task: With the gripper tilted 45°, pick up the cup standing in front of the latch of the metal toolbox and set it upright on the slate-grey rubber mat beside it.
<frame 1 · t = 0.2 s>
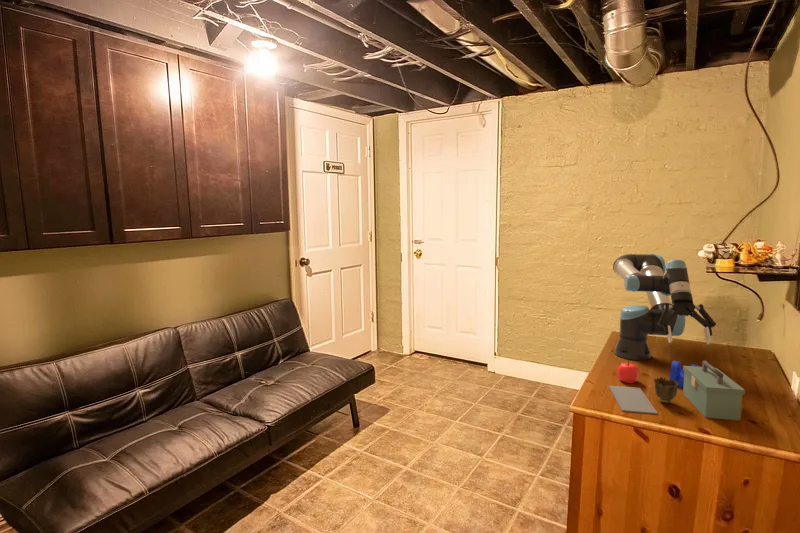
hand: (689, 342, 176), 15 cm above the table, tool tilted 35°, fingers open, 13 cm apart
bracket: (687, 381, 177), on the table
toolbox: (709, 405, 154), on the table
apple: (627, 381, 178), on the table
rubber mat: (631, 399, 161), on the table
cup: (664, 402, 158), on the table
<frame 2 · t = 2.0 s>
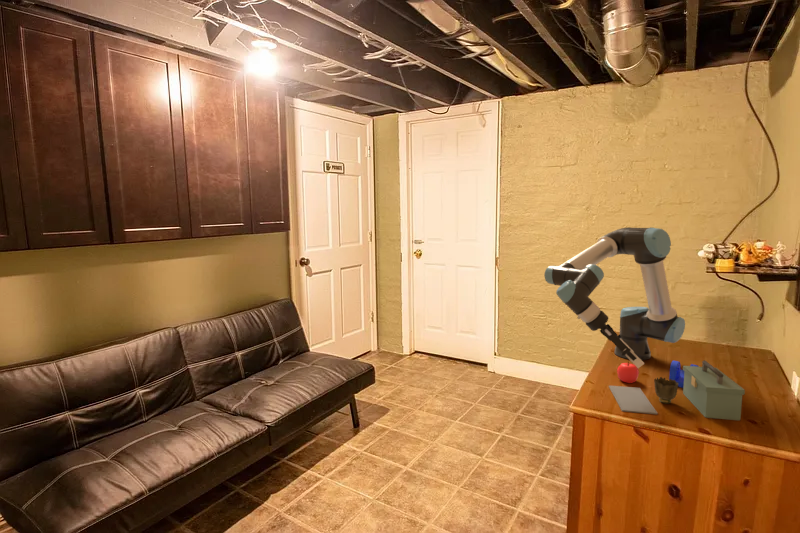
hand: (635, 359, 159), 15 cm above the table, tool tilted 45°, fingers open, 13 cm apart
nothing on the table moved.
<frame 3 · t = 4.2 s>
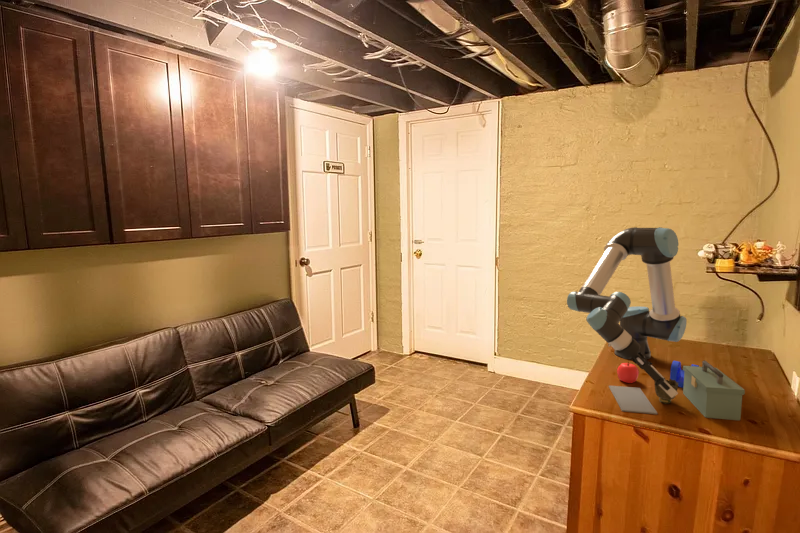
hand: (668, 387, 157), 6 cm above the table, tool tilted 45°, fingers open, 13 cm apart
nothing on the table moved.
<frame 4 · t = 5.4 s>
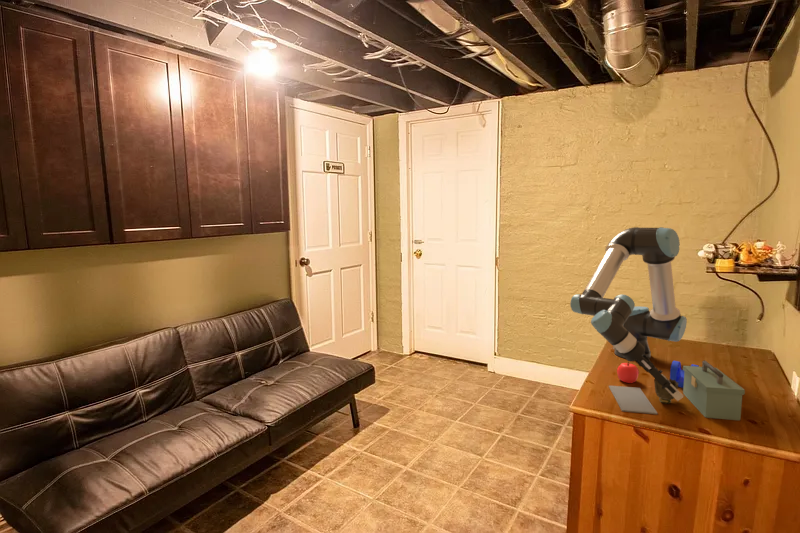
hand: (676, 393, 157), 4 cm above the table, tool tilted 45°, fingers closed on cup, 7 cm apart
cup: (664, 402, 158), on the table, touching gripper
everything else where it was.
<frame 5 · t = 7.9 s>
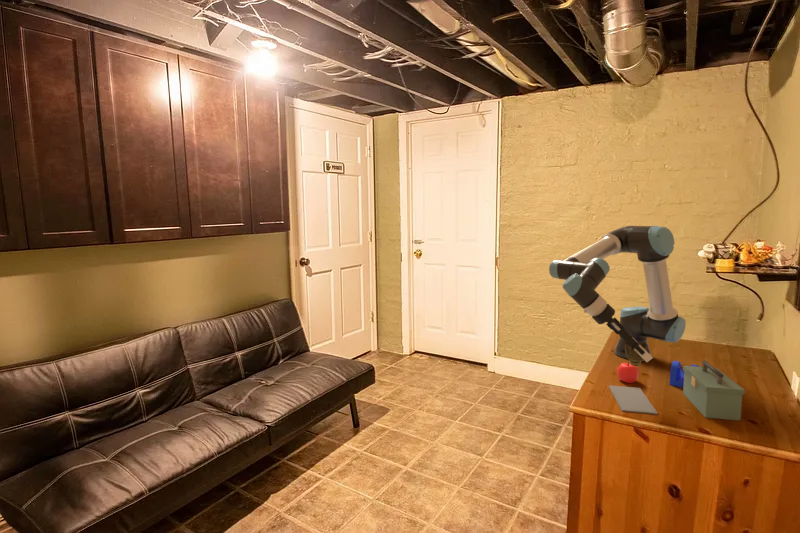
hand: (646, 356, 158), 17 cm above the table, tool tilted 45°, fingers closed on cup, 7 cm apart
cup: (635, 365, 159), point 13 cm above the table, touching gripper
everything else where it was.
when the fingers open (5 cm above the table, at t = 10.6 s): cup stays where it is, resting on rubber mat.
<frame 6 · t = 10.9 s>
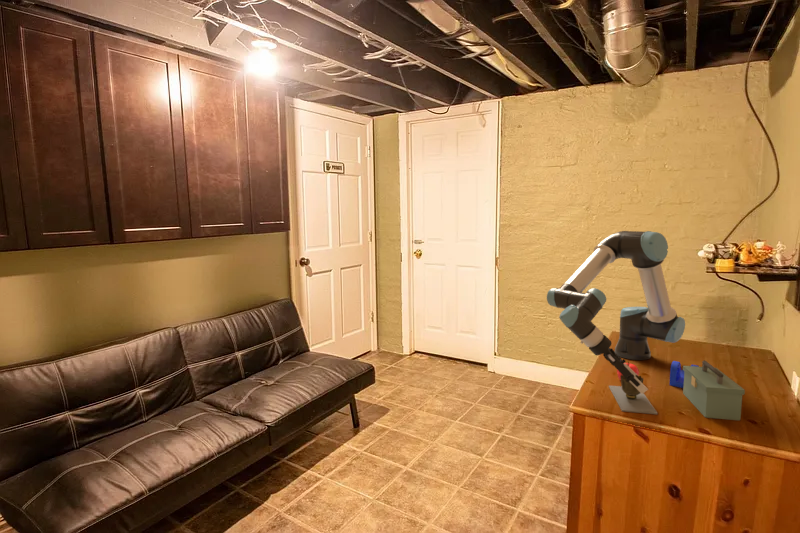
hand: (640, 384, 159), 6 cm above the table, tool tilted 45°, fingers open, 12 cm apart
cup: (631, 398, 161), resting on rubber mat
everything else where it was.
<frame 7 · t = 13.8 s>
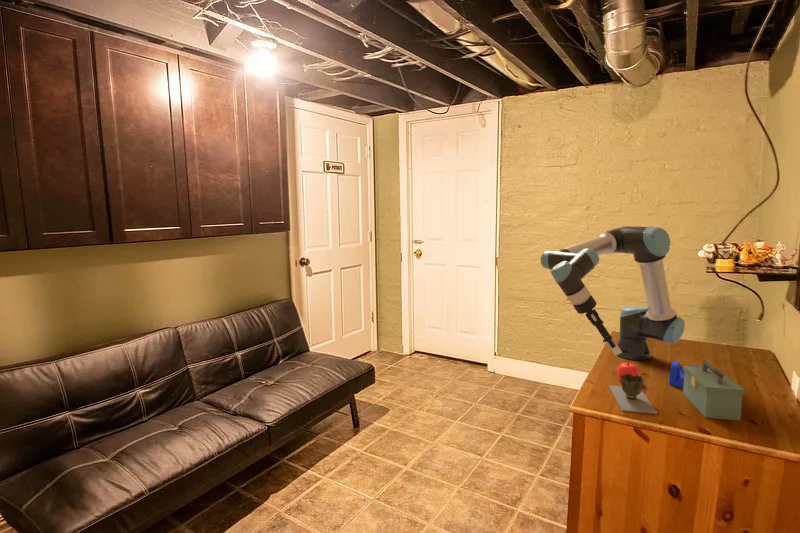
hand: (613, 346, 163), 19 cm above the table, tool tilted 35°, fingers open, 13 cm apart
nothing on the table moved.
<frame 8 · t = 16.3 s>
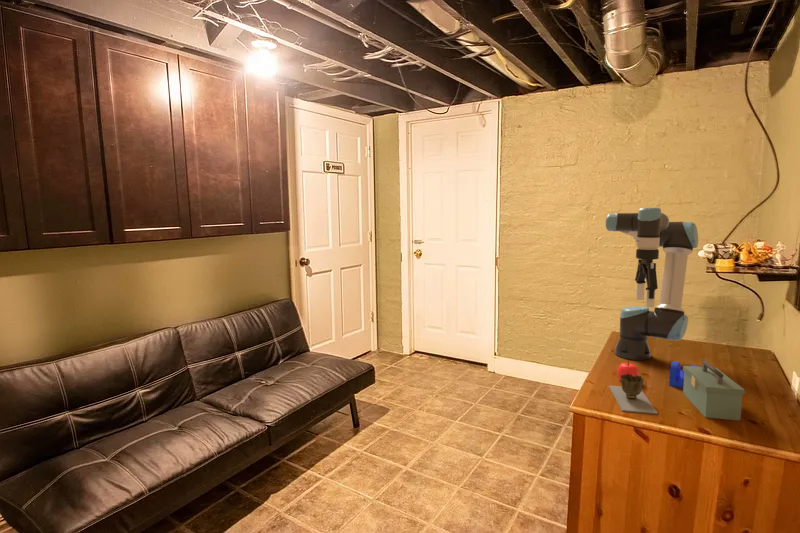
hand: (644, 303, 170), 33 cm above the table, tool pointing down, fingers open, 13 cm apart
nothing on the table moved.
at the end: cup inside the target area (0.2 cm from its centre), on the table; cup tilted 0°; the gripper is holding nothing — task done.
